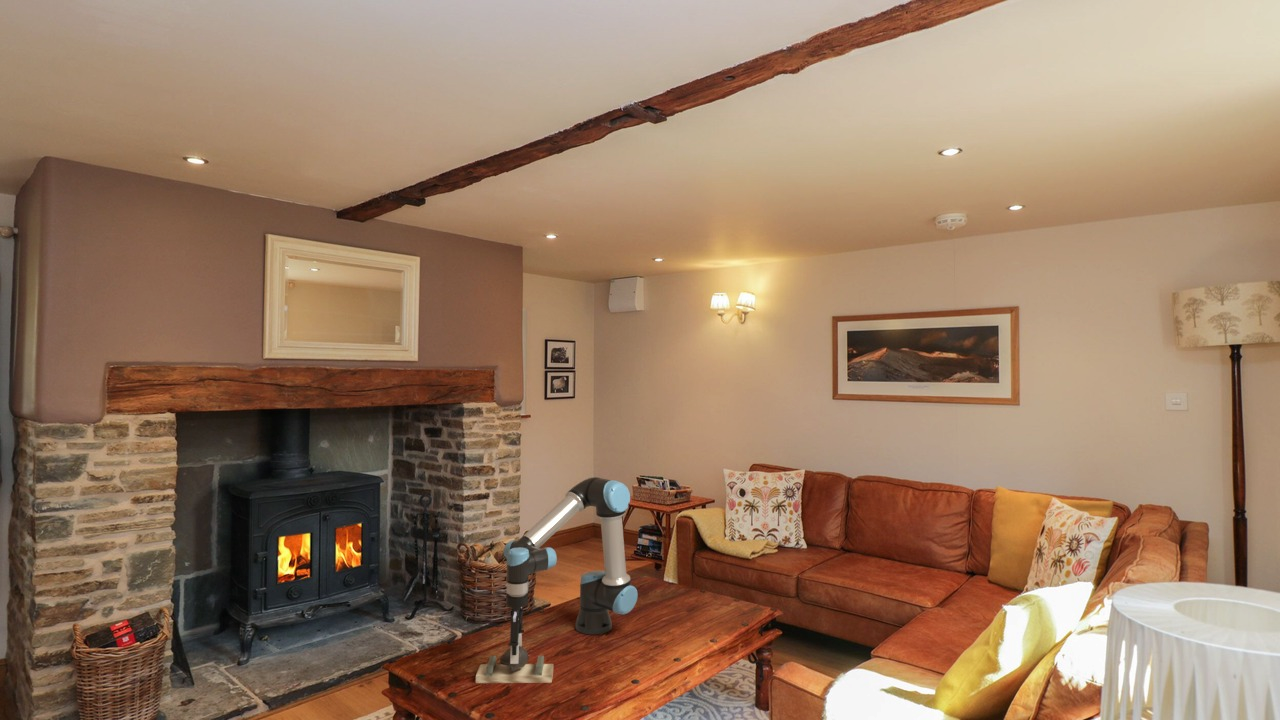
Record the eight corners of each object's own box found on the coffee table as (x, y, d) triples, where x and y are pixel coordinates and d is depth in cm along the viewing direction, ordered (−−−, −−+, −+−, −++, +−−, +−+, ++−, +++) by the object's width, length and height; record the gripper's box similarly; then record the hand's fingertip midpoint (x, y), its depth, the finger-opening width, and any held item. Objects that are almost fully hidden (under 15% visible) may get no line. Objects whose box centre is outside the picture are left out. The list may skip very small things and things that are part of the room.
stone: (498, 680, 237) (510, 667, 232) (493, 656, 242) (505, 643, 237) (523, 677, 243) (535, 664, 237) (518, 653, 248) (530, 641, 243)
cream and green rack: (553, 670, 245) (553, 655, 245) (551, 682, 236) (551, 666, 236) (480, 671, 243) (480, 655, 243) (475, 683, 234) (476, 667, 234)
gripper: (510, 583, 250) (509, 645, 250) (502, 604, 229) (500, 671, 229) (531, 583, 250) (529, 644, 250) (524, 604, 229) (523, 671, 229)
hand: (515, 657), depth 240 cm, fingers closed on stone, 8 cm apart
